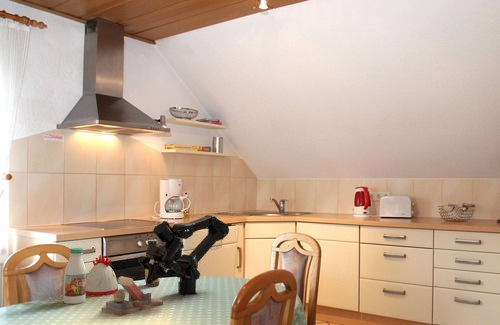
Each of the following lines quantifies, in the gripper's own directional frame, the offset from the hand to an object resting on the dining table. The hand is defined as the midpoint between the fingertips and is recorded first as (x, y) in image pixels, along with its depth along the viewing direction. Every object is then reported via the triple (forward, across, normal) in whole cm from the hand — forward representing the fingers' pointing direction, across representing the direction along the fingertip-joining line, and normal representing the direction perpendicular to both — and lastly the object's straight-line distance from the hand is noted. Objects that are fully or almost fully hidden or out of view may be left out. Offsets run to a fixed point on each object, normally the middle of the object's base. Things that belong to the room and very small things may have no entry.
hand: (147, 283), depth 175 cm
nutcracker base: (+10, 0, +1) cm, 10 cm away
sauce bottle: (-10, -22, +22) cm, 33 cm away
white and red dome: (+5, -28, +6) cm, 30 cm away
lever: (+6, 0, +1) cm, 6 cm away
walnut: (+12, 0, -6) cm, 14 cm away
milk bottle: (+16, -23, -6) cm, 28 cm away
